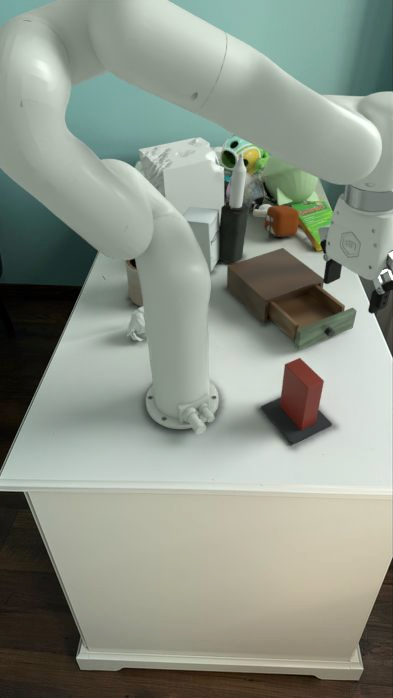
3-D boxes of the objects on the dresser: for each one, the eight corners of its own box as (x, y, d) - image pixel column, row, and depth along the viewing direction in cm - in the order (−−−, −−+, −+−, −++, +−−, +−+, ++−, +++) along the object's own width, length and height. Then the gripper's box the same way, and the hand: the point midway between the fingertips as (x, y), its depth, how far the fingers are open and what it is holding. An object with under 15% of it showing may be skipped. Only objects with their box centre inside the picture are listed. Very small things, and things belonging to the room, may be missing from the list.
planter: (125, 287, 116) (119, 250, 109) (170, 277, 118) (168, 240, 112) (136, 314, 108) (131, 276, 102) (185, 303, 110) (183, 265, 104)
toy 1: (233, 170, 141) (249, 221, 140) (279, 132, 126) (296, 190, 125) (284, 171, 153) (299, 218, 152) (332, 136, 138) (348, 189, 137)
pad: (331, 425, 84) (332, 423, 84) (292, 445, 81) (292, 442, 81) (298, 391, 90) (298, 389, 90) (260, 408, 87) (260, 406, 87)
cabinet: (320, 302, 109) (324, 278, 105) (263, 324, 104) (265, 300, 100) (280, 270, 119) (282, 247, 115) (226, 289, 114) (227, 265, 110)
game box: (315, 254, 125) (288, 210, 139) (353, 249, 127) (322, 206, 140) (318, 243, 123) (289, 200, 137) (355, 238, 124) (324, 196, 138)
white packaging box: (211, 273, 118) (208, 223, 110) (182, 269, 121) (177, 220, 112) (221, 257, 123) (219, 208, 115) (193, 253, 126) (189, 205, 117)
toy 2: (243, 223, 138) (271, 240, 126) (245, 198, 134) (275, 212, 123) (272, 221, 141) (303, 237, 129) (275, 196, 138) (307, 210, 126)
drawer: (357, 331, 100) (361, 313, 98) (302, 354, 96) (304, 336, 93) (310, 293, 110) (313, 276, 107) (258, 312, 106) (259, 296, 103)
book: (315, 423, 84) (324, 380, 77) (301, 430, 83) (308, 387, 76) (293, 399, 88) (299, 357, 81) (279, 406, 87) (284, 363, 80)
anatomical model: (259, 214, 146) (238, 225, 140) (232, 182, 147) (210, 191, 141) (278, 191, 138) (257, 201, 132) (249, 157, 139) (226, 165, 133)
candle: (214, 257, 123) (224, 153, 107) (226, 249, 126) (238, 147, 110) (232, 264, 121) (245, 159, 104) (243, 256, 124) (258, 153, 108)
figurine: (202, 325, 104) (196, 294, 102) (136, 347, 97) (129, 313, 95) (184, 321, 110) (179, 291, 108) (121, 341, 103) (114, 310, 101)
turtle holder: (279, 181, 157) (254, 191, 150) (236, 164, 166) (210, 172, 160) (286, 140, 149) (259, 149, 142) (240, 124, 158) (213, 131, 151)
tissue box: (206, 131, 132) (114, 147, 124) (236, 150, 121) (137, 170, 113) (206, 205, 145) (123, 224, 138) (233, 228, 135) (145, 250, 127)
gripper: (308, 179, 74) (298, 278, 85) (404, 226, 63) (378, 332, 74) (346, 166, 77) (331, 263, 88) (444, 208, 66) (413, 313, 77)
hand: (353, 294), depth 81 cm, fingers open, 9 cm apart
